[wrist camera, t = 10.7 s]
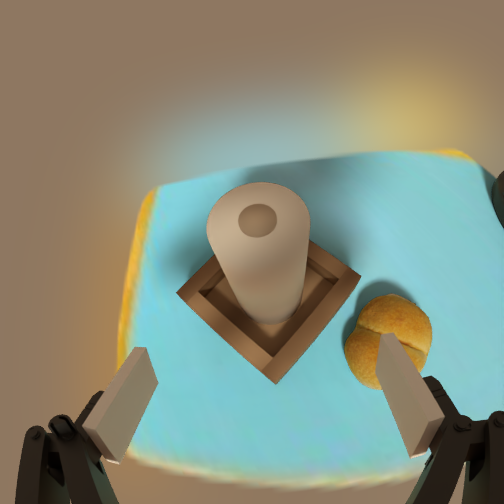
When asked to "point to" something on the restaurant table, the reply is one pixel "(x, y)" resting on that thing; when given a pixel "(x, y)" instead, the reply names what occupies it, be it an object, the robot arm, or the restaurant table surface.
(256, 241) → the paper roll
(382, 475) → the restaurant table surface
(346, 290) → the tray
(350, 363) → the bread roll
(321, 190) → the restaurant table surface
